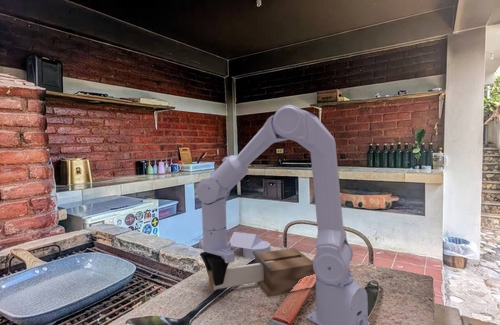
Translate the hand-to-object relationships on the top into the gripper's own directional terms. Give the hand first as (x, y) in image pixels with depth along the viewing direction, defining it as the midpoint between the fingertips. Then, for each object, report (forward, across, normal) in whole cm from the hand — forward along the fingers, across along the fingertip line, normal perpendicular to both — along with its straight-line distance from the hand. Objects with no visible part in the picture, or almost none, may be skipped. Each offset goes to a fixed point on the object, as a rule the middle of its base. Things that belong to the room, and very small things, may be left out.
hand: (216, 282), depth 69 cm
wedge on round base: (+3, +16, -22) cm, 27 cm away
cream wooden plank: (+1, -2, -6) cm, 7 cm away
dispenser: (+3, -5, -17) cm, 18 cm away
